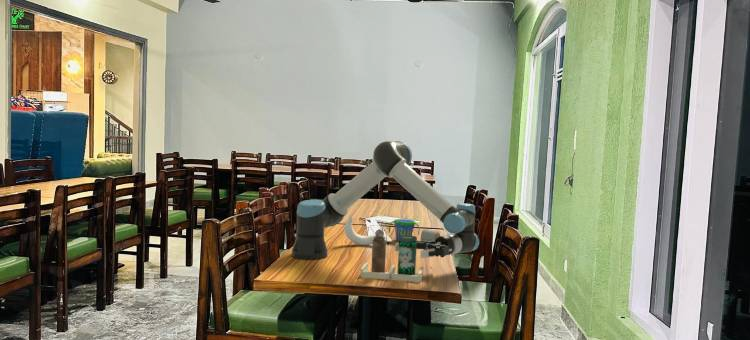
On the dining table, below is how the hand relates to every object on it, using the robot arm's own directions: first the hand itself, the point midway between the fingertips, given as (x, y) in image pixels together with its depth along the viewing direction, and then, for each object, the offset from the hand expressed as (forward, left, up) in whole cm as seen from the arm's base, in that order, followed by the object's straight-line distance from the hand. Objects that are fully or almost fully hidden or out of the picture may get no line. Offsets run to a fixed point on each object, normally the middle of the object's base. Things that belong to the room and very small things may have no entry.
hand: (408, 250), depth 202 cm
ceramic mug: (+4, +70, -11) cm, 71 cm away
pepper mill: (-11, 0, -10) cm, 15 cm away
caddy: (-6, 0, -11) cm, 12 cm away
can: (0, 0, -10) cm, 10 cm away
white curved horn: (-27, +57, -11) cm, 64 cm away
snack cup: (-10, +76, -11) cm, 77 cm away
